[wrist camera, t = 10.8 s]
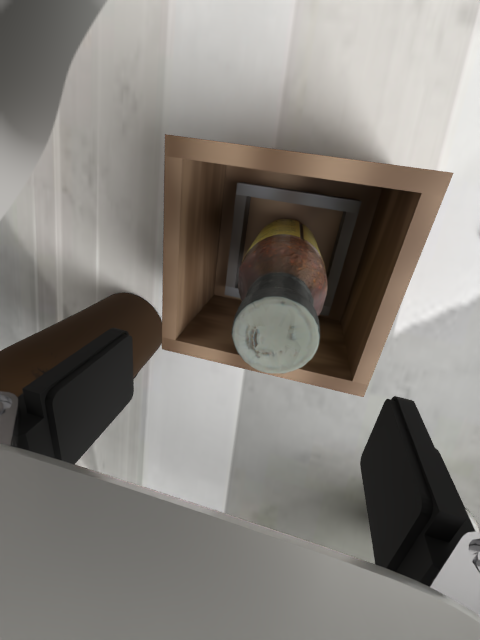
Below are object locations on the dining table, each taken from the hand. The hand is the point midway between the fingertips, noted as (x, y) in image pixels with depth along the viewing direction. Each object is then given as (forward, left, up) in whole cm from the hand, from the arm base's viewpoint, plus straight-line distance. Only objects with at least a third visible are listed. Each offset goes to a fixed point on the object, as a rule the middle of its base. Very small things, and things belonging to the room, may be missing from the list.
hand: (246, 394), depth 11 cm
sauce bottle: (0, 0, -23) cm, 23 cm away
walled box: (0, -1, -24) cm, 24 cm away
